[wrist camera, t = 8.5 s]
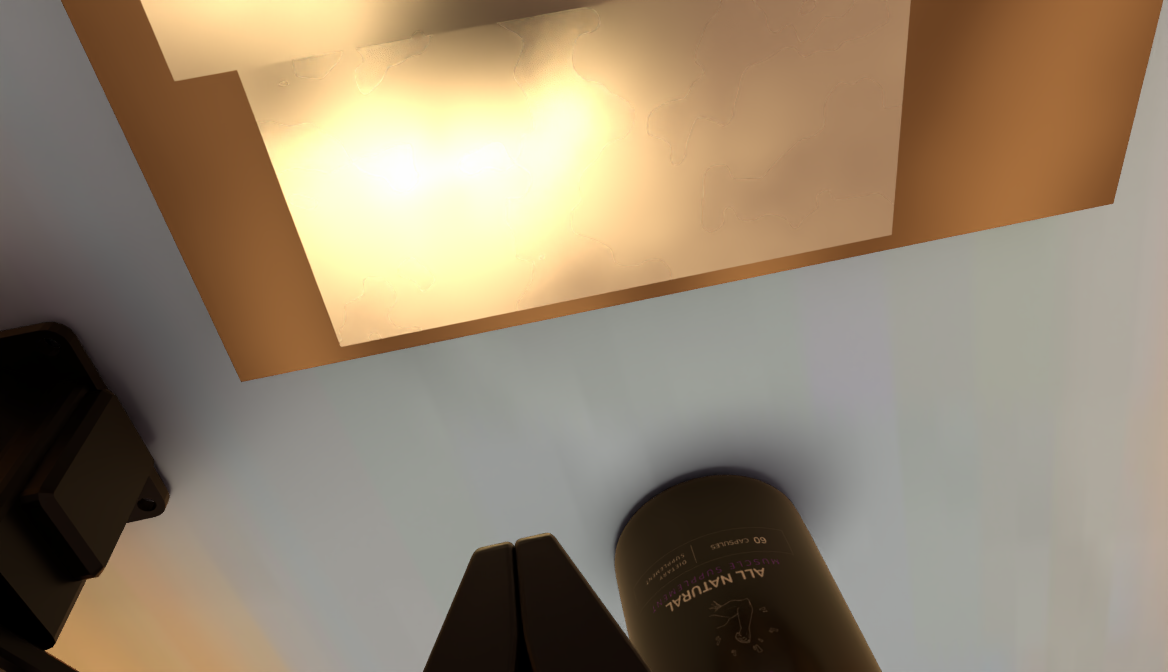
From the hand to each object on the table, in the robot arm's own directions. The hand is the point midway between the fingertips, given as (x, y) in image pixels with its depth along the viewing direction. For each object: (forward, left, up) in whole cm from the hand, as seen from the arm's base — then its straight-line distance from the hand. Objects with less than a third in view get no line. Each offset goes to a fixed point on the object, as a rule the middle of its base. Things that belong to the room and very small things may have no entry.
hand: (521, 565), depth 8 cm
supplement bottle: (+5, -15, -13) cm, 21 cm away
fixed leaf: (+3, +2, -12) cm, 12 cm away
